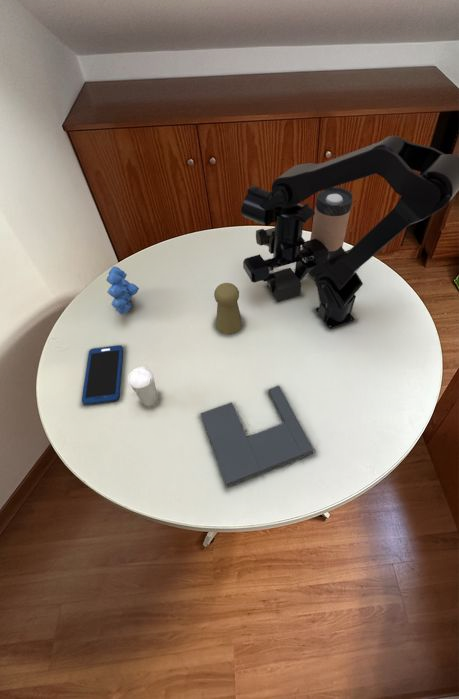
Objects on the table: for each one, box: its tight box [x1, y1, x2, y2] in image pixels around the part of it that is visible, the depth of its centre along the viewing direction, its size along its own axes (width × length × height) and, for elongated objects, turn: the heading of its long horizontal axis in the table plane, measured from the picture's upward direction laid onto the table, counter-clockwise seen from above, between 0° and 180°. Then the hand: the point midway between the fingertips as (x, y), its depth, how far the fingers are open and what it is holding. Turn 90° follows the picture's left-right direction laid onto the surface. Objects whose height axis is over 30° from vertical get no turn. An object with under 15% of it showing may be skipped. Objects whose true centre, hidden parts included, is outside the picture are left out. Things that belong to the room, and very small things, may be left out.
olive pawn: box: [213, 282, 243, 335], centre depth 79 cm, size 6×6×11 cm
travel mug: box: [308, 186, 354, 279], centre depth 85 cm, size 8×8×20 cm
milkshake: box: [127, 366, 160, 408], centre depth 68 cm, size 4×5×10 cm
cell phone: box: [81, 344, 124, 405], centre depth 77 cm, size 7×14×1 cm, turn 7°
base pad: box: [200, 385, 314, 488], centre depth 66 cm, size 16×14×2 cm
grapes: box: [106, 266, 140, 316], centre depth 84 cm, size 12×7×12 cm, turn 8°
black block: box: [266, 267, 303, 303], centre depth 88 cm, size 6×6×4 cm
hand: (283, 287), depth 89 cm, fingers closed on black block, 6 cm apart
